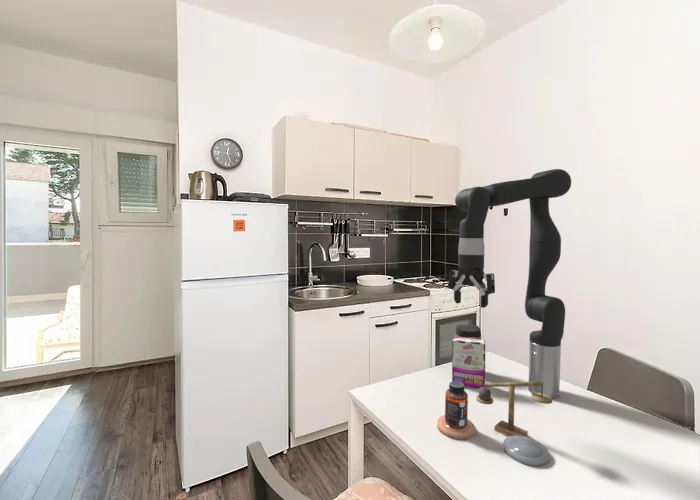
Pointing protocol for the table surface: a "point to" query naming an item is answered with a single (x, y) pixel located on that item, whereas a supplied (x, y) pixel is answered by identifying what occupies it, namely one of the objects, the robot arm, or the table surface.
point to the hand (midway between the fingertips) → (470, 305)
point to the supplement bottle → (456, 405)
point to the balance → (511, 405)
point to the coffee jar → (468, 331)
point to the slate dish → (526, 450)
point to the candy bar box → (468, 361)
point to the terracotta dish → (456, 433)
